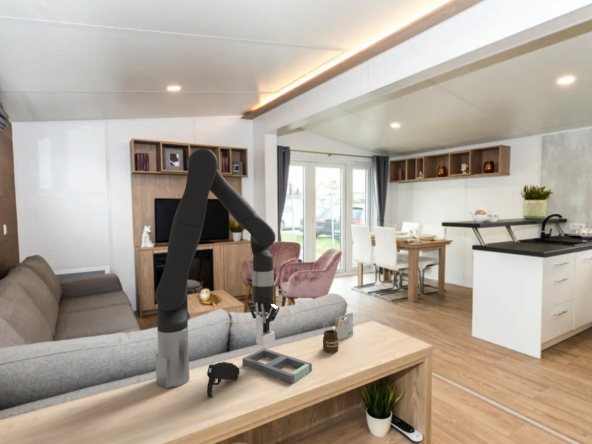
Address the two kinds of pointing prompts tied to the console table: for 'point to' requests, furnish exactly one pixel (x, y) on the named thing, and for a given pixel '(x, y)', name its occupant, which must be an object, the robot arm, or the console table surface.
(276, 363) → the port panel
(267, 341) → the white wedge bracket
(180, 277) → the robot arm
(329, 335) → the utensil holder
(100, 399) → the console table surface
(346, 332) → the ink cartridge box
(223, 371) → the gun
